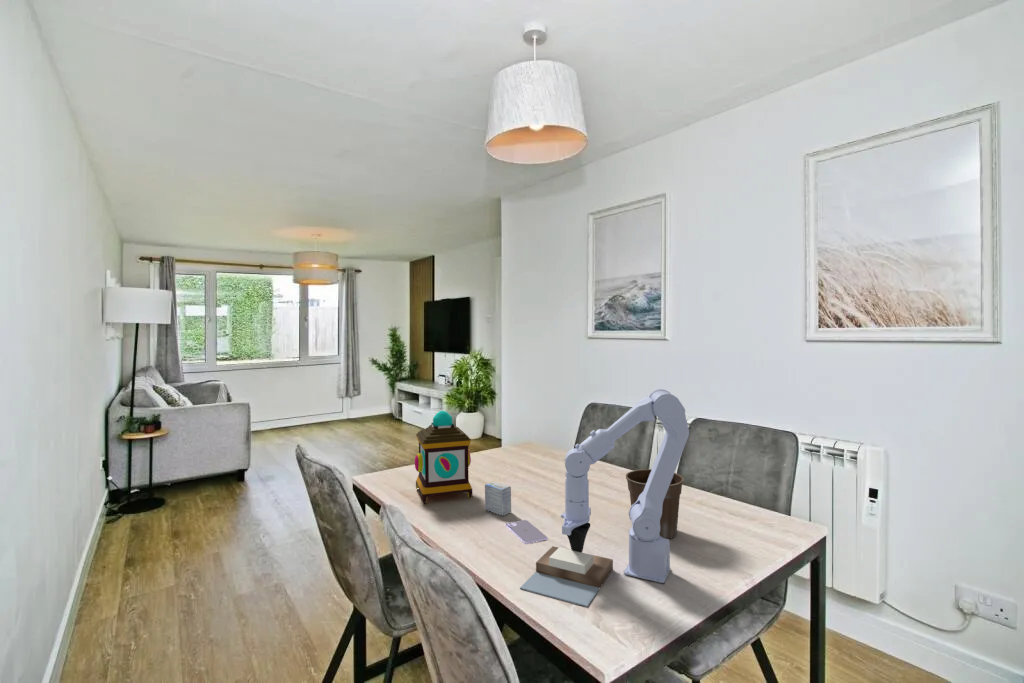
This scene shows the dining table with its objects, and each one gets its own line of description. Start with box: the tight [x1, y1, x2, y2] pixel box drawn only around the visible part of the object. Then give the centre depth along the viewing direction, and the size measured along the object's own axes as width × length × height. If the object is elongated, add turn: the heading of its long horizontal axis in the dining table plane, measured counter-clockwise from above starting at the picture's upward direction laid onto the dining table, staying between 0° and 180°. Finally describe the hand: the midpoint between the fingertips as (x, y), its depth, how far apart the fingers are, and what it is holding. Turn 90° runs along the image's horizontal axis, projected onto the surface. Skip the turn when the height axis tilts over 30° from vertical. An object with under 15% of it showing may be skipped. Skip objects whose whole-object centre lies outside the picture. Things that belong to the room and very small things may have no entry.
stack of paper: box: [484, 481, 512, 517], centre depth 160 cm, size 8×4×9 cm, turn 47°
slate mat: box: [519, 571, 601, 608], centre depth 112 cm, size 16×8×1 cm, turn 62°
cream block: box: [549, 547, 594, 574], centre depth 119 cm, size 9×6×2 cm, turn 61°
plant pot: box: [624, 468, 685, 540], centre depth 143 cm, size 16×16×16 cm
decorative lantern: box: [414, 410, 473, 504], centre depth 177 cm, size 20×20×30 cm
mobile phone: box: [504, 519, 548, 545], centre depth 144 cm, size 8×1×15 cm
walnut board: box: [535, 545, 614, 589], centre depth 121 cm, size 16×10×2 cm, turn 62°
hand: (577, 553), depth 122 cm, fingers closed
